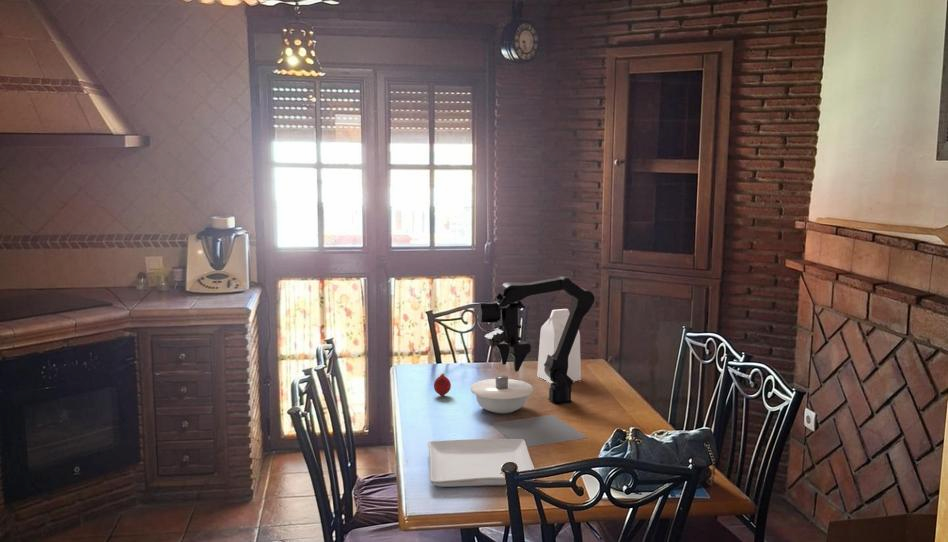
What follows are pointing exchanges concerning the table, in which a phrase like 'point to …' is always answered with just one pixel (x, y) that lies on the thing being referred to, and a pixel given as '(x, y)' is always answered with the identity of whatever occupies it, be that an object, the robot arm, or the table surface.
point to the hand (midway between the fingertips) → (510, 367)
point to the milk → (550, 342)
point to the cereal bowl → (501, 404)
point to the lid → (501, 388)
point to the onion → (442, 385)
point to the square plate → (475, 461)
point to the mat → (538, 430)
